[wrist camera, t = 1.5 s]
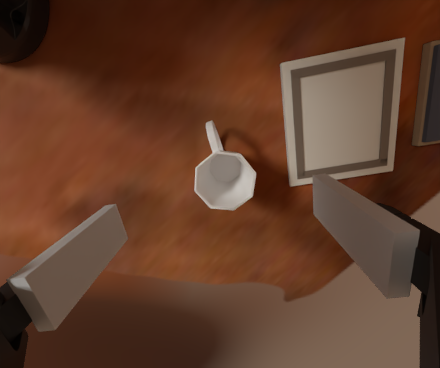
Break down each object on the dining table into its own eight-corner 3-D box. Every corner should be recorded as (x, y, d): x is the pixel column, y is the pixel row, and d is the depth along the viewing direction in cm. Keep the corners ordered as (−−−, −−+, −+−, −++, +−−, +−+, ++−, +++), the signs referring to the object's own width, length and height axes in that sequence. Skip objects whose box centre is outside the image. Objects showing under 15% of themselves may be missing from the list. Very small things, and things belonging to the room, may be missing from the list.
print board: (279, 64, 25) (281, 62, 24) (399, 39, 24) (406, 36, 23) (289, 184, 30) (291, 187, 29) (388, 169, 29) (394, 171, 28)
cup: (210, 193, 31) (204, 218, 24) (187, 128, 28) (172, 133, 21) (254, 180, 30) (264, 202, 23) (236, 112, 27) (240, 111, 20)
